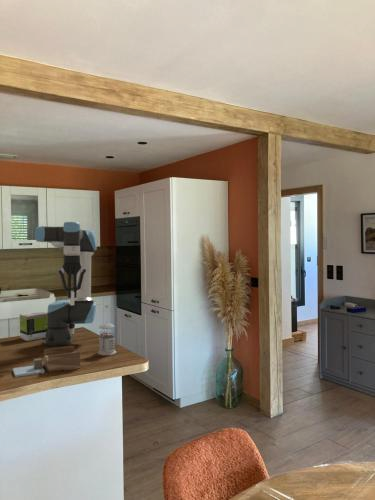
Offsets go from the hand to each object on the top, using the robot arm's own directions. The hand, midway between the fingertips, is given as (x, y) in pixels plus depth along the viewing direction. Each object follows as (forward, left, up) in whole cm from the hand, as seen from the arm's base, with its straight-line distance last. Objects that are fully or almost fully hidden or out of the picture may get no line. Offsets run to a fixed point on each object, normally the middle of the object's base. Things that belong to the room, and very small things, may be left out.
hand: (72, 304), depth 194 cm
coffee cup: (-63, +11, -29) cm, 70 cm away
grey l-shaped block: (+1, -20, -29) cm, 35 cm away
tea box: (-63, -8, -29) cm, 70 cm away
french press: (-12, +20, -29) cm, 37 cm away
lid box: (+1, -5, -28) cm, 29 cm away
